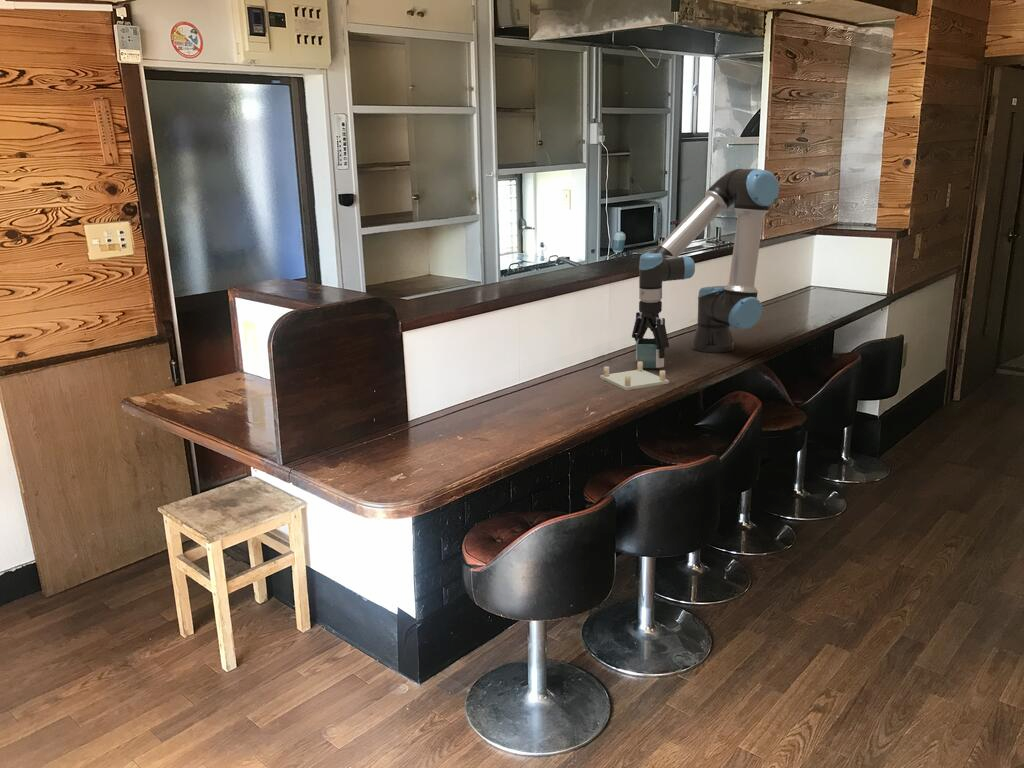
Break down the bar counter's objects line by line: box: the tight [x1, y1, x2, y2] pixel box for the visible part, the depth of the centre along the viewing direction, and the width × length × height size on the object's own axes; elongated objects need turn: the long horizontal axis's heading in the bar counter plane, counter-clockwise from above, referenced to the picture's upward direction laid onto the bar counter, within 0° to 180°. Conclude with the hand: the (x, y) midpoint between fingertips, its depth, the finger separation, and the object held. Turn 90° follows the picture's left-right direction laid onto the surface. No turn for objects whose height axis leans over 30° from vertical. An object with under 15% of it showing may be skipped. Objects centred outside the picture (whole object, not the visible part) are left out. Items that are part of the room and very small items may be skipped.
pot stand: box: [599, 360, 670, 391], centre depth 271 cm, size 16×16×4 cm
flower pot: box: [635, 337, 661, 369], centre depth 285 cm, size 9×9×9 cm
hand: (649, 363), depth 286 cm, fingers closed on flower pot, 12 cm apart
